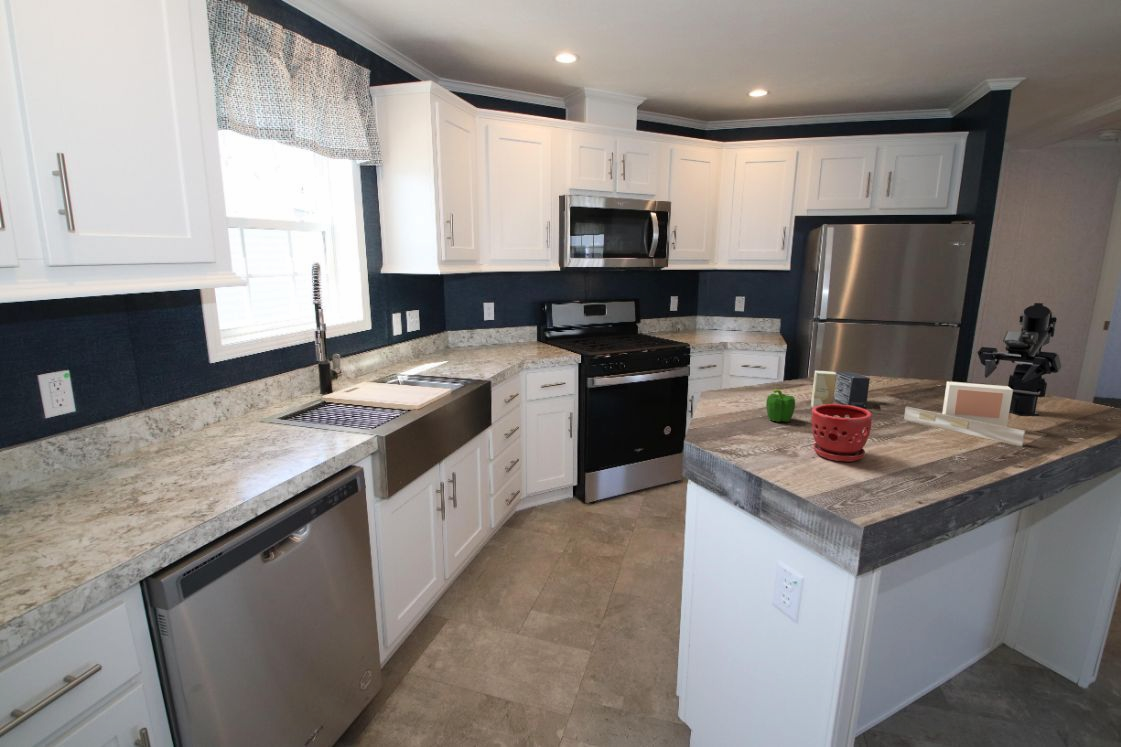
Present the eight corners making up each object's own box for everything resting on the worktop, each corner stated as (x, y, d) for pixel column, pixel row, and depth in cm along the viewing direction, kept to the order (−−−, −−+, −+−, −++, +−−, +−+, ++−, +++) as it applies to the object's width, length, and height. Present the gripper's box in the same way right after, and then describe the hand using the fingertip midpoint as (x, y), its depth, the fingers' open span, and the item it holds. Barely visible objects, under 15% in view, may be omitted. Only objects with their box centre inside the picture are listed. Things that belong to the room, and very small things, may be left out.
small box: (867, 408, 177) (871, 377, 175) (848, 408, 177) (851, 377, 175) (851, 400, 187) (854, 371, 185) (832, 400, 187) (835, 371, 185)
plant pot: (815, 443, 142) (819, 400, 139) (871, 454, 134) (876, 408, 131) (801, 457, 132) (805, 411, 130) (860, 469, 124) (866, 420, 121)
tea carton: (939, 418, 158) (945, 379, 156) (998, 425, 152) (1005, 384, 149) (945, 427, 150) (951, 386, 147) (1008, 434, 143) (1015, 391, 141)
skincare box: (812, 408, 176) (815, 372, 174) (810, 405, 180) (813, 370, 178) (833, 409, 175) (837, 373, 172) (831, 406, 179) (834, 371, 176)
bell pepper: (788, 417, 167) (791, 386, 165) (797, 424, 159) (800, 392, 157) (761, 416, 168) (763, 385, 166) (768, 424, 160) (770, 391, 158)
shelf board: (932, 415, 167) (934, 398, 166) (1046, 439, 144) (1049, 420, 143) (903, 424, 158) (905, 407, 157) (1020, 452, 135) (1023, 431, 134)
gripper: (985, 320, 162) (960, 355, 158) (1064, 324, 146) (1038, 362, 142) (994, 347, 167) (970, 381, 163) (1071, 353, 150) (1046, 391, 146)
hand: (1003, 378), depth 153 cm, fingers open, 9 cm apart
